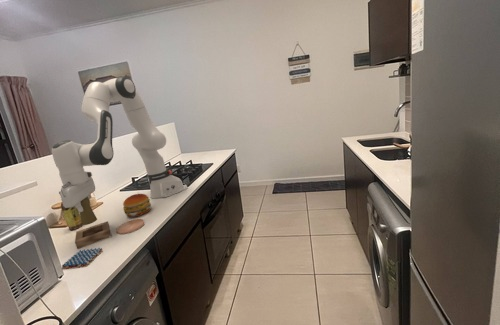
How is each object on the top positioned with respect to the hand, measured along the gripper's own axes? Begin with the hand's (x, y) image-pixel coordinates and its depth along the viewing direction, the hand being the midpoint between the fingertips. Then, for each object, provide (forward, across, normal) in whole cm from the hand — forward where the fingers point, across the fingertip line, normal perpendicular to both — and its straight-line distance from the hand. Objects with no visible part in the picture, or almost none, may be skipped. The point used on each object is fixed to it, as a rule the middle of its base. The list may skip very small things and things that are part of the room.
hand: (85, 208), depth 114 cm
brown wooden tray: (+14, 0, 0) cm, 14 cm away
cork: (+7, 0, 0) cm, 7 cm away
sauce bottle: (+14, +16, +17) cm, 27 cm away
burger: (+14, +19, -14) cm, 28 cm away
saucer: (+14, +2, -15) cm, 21 cm away
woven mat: (+14, -19, -4) cm, 24 cm away
